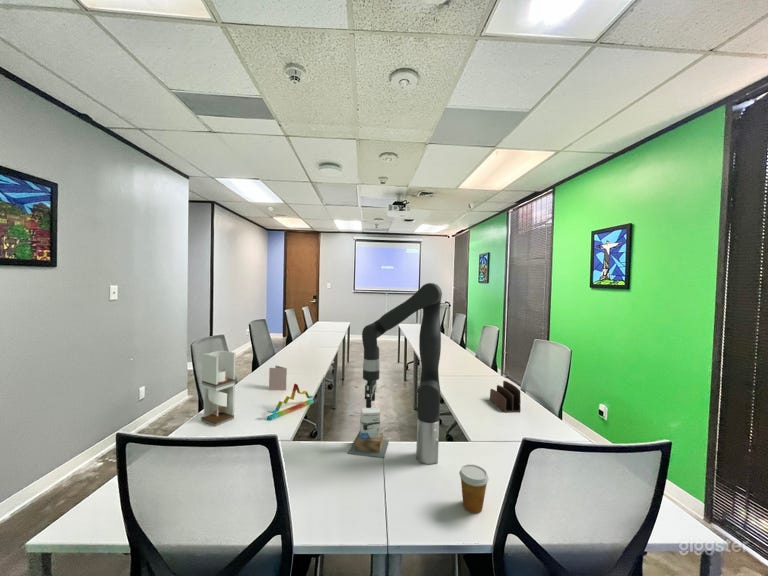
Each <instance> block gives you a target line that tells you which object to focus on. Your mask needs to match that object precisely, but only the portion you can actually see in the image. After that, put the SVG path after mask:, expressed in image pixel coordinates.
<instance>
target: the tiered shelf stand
mask: <svg viewBox="0 0 768 576" xmlns="http://www.w3.org/2000/svg"><path fill="white" fill-rule="evenodd" d="M236 355H237V354H236V352H231V351H227V350H224V349H223V350H216V351H212V352H205V353H202V363H201V364H202V367H201V368H202V369H201V370H202V373H201V388H203V416H201V417H200V421H201V422H202V423H204V424H207V425H210V426H213V427H217V426H220V425H222V424H225V423H227V422H230V421H232V420H235V399H236V398H235V395H236V393H235V392H236Z"/></svg>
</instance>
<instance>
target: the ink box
mask: <svg viewBox="0 0 768 576" xmlns="http://www.w3.org/2000/svg"><path fill="white" fill-rule="evenodd" d="M359 431H360V436H361V439H367V438H379V437H380V433H381V410H380V408H379V407H371V408H366V407H364V408H363V407H362V408H361V409H360V422H359Z"/></svg>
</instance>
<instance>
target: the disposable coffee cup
mask: <svg viewBox="0 0 768 576" xmlns="http://www.w3.org/2000/svg"><path fill="white" fill-rule="evenodd" d="M458 475H459V477H460V482H461V494H462V495H461V497H462V506H463V508H464V509H465V510H466V511H467V512H469V513H471V514H479V513H481V512H482V511H483V508H484V502H485V495H486V490H487V484H488V482H489V479H490V477H489V475H488V473H487V470H486V469H485V468H483V467H481V466H479V465H477V464H471V463H469V464H467V463H466V464H464V465H462V466H461V469H460V470H459V473H458Z"/></svg>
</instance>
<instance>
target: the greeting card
mask: <svg viewBox="0 0 768 576" xmlns="http://www.w3.org/2000/svg"><path fill="white" fill-rule="evenodd" d="M268 369H269V371H268V373H269V375H268V376H269V377H268V391H287V370H288V368H287V367H283V366H280V365H277V364H276V365H275V366H274V367H269V368H268Z"/></svg>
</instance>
